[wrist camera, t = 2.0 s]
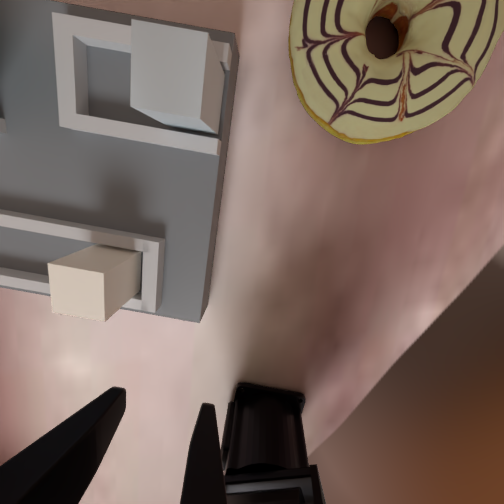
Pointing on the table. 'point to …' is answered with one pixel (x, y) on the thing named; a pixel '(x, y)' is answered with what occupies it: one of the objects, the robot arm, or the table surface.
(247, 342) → the table surface
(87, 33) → the panel
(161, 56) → the grey slider
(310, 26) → the decorated donut
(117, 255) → the cream slider
